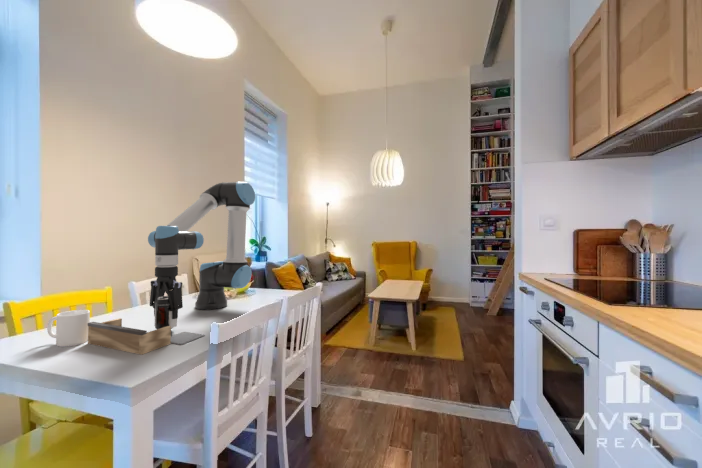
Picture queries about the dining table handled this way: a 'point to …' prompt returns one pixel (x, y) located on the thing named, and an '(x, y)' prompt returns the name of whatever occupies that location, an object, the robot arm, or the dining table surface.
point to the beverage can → (162, 312)
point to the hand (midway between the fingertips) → (165, 325)
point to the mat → (184, 337)
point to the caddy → (127, 337)
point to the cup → (70, 327)
